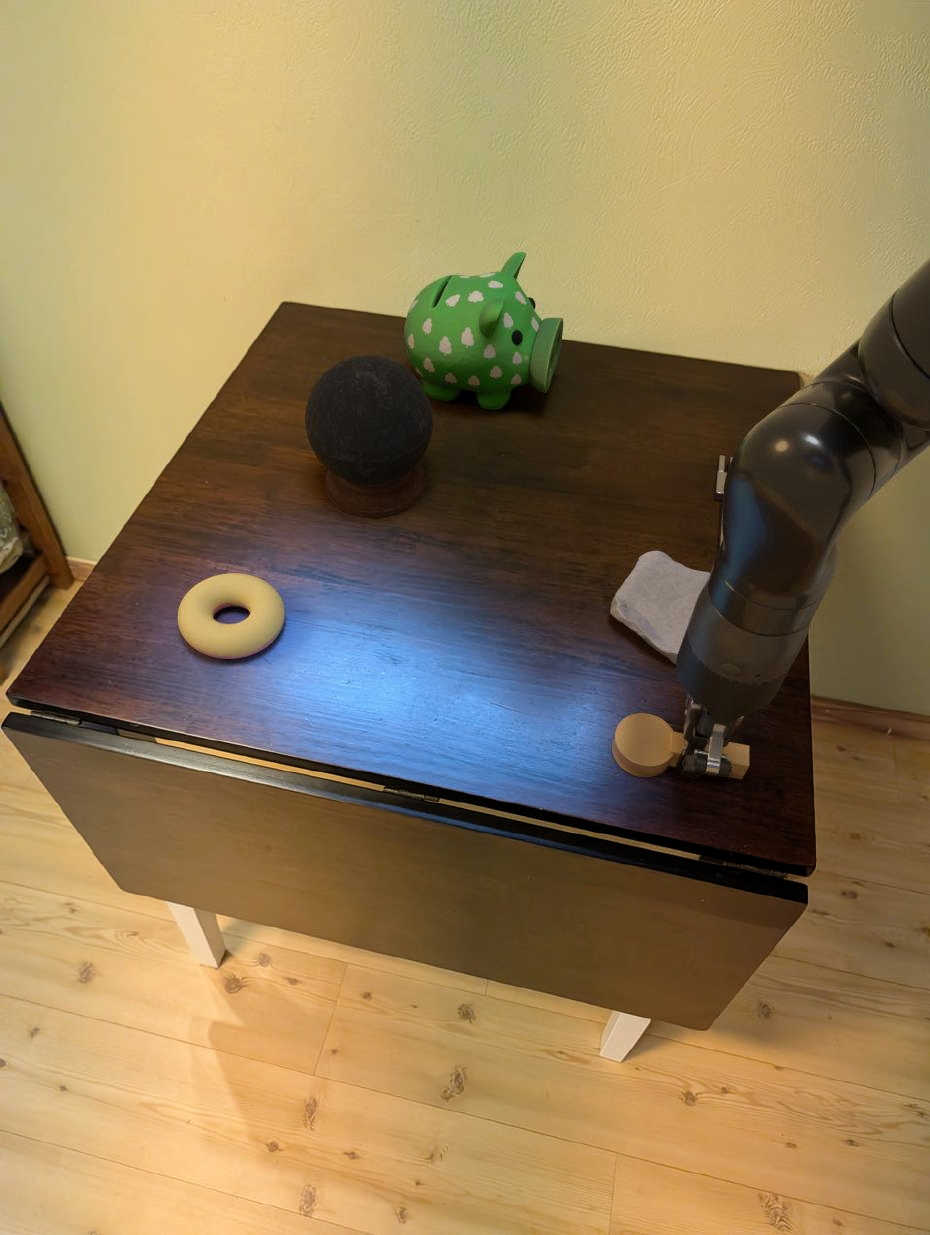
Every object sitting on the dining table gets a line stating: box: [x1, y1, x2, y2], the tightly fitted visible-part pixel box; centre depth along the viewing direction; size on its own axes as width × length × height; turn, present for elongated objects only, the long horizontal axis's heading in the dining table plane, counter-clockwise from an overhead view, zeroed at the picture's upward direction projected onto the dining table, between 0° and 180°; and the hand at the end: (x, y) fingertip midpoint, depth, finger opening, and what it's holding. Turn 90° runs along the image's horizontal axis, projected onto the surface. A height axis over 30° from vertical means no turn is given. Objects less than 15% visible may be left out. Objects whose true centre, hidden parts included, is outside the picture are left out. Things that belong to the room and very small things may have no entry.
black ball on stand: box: [304, 354, 434, 519], centre depth 88 cm, size 13×13×15 cm
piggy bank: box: [403, 251, 564, 411], centre depth 99 cm, size 14×18×15 cm
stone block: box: [609, 550, 711, 665], centre depth 81 cm, size 12×5×10 cm
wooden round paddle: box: [611, 712, 750, 780], centre depth 72 cm, size 11×5×2 cm, turn 78°
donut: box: [177, 572, 286, 660], centre depth 80 cm, size 10×5×9 cm
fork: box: [713, 454, 733, 551], centre depth 92 cm, size 14×3×1 cm, turn 167°
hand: (688, 758), depth 72 cm, fingers closed on wooden round paddle, 2 cm apart
